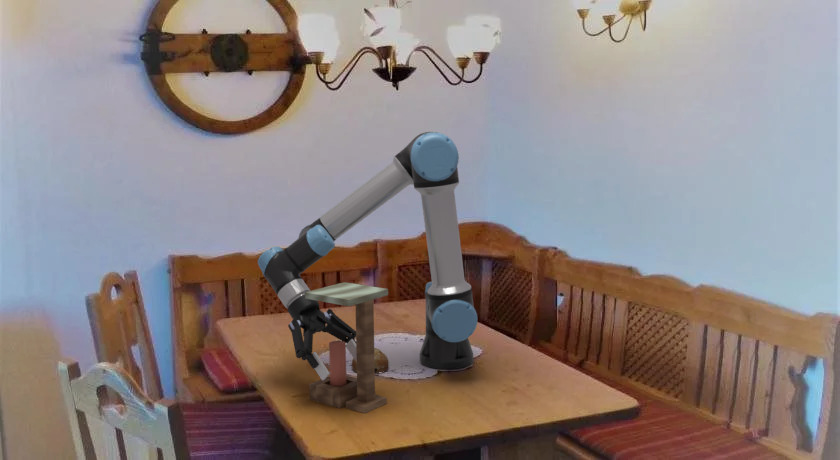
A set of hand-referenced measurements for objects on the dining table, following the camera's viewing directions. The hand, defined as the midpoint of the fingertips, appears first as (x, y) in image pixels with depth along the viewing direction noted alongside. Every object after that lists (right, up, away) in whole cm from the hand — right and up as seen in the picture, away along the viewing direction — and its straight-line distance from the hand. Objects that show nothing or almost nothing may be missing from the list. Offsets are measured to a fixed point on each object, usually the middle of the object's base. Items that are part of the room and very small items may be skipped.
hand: (345, 370), depth 195 cm
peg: (-2, -7, +3) cm, 8 cm away
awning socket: (+1, -8, 0) cm, 8 cm away
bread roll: (+4, -4, +25) cm, 26 cm away
